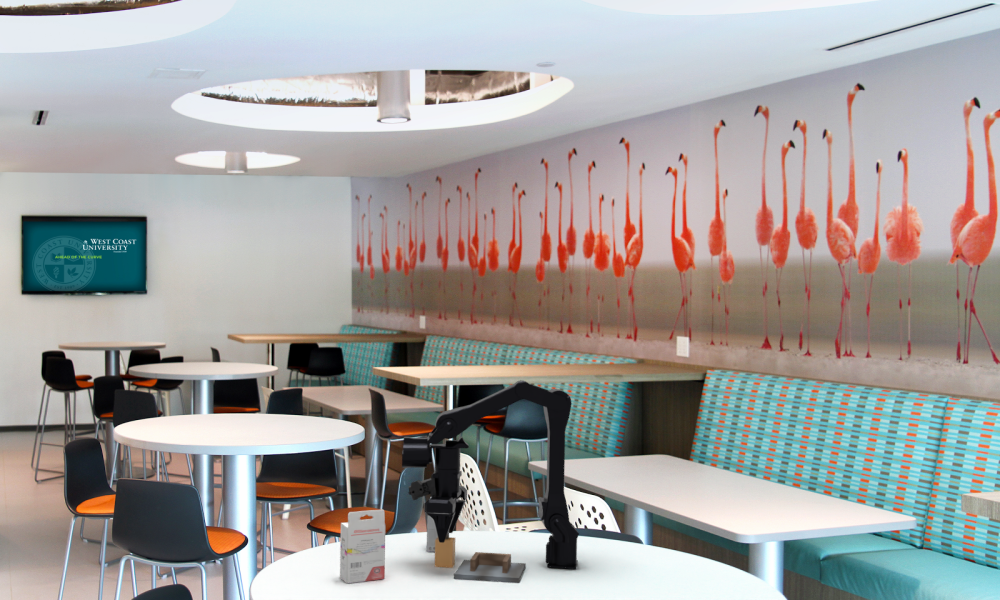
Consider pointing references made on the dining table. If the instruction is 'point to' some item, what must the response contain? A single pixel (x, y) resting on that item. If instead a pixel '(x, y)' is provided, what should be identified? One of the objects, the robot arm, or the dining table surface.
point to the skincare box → (431, 534)
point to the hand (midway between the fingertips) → (446, 537)
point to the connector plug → (445, 552)
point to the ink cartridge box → (363, 547)
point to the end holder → (490, 568)
